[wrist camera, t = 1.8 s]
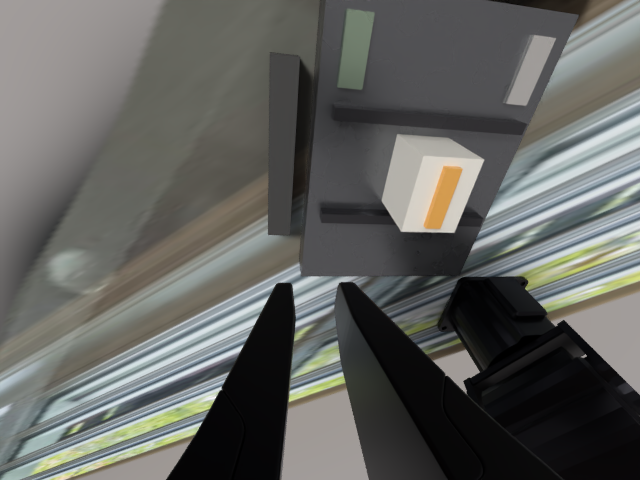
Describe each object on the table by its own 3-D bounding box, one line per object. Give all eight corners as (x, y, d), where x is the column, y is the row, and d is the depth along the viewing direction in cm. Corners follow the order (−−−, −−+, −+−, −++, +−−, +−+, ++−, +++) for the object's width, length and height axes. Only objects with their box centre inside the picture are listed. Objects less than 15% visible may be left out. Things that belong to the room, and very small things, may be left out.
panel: (446, 259, 25) (464, 282, 23) (299, 258, 23) (302, 284, 21) (547, 16, 16) (593, 14, 14) (321, -19, 14) (331, -29, 12)
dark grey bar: (288, 224, 21) (289, 235, 20) (268, 223, 21) (268, 234, 20) (297, 55, 16) (300, 57, 14) (270, 52, 15) (269, 54, 14)
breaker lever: (427, 202, 19) (457, 235, 16) (381, 200, 19) (403, 234, 16) (448, 137, 17) (488, 161, 14) (397, 134, 16) (426, 158, 13)
